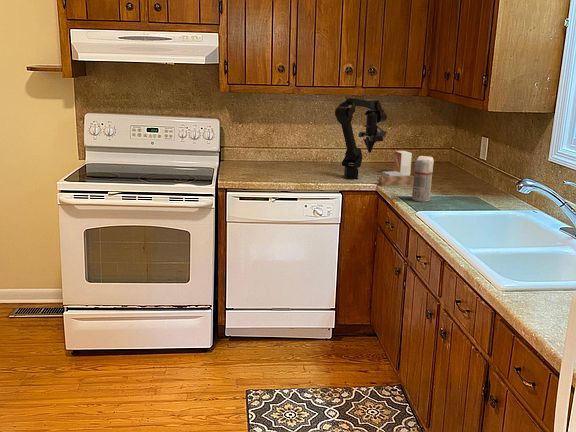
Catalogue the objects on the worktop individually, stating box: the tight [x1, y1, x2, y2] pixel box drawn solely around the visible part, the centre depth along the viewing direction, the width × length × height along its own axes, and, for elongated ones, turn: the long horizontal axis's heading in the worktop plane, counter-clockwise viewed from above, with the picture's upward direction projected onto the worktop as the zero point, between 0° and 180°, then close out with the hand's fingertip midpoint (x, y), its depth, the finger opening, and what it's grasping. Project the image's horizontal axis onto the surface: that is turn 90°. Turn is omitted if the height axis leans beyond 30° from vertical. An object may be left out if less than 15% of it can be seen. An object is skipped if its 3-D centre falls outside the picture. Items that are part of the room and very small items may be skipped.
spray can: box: [411, 155, 435, 203], centre depth 280 cm, size 8×8×20 cm
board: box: [378, 174, 414, 187], centre depth 314 cm, size 18×3×4 cm, turn 108°
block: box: [381, 170, 404, 177], centre depth 319 cm, size 8×8×5 cm
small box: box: [393, 150, 413, 176], centre depth 336 cm, size 8×6×13 cm
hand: (369, 152), depth 335 cm, fingers closed
